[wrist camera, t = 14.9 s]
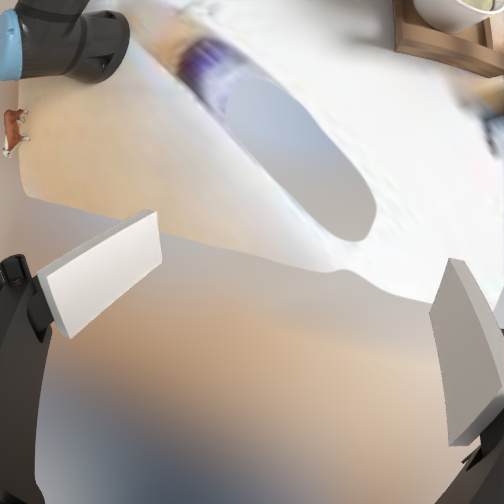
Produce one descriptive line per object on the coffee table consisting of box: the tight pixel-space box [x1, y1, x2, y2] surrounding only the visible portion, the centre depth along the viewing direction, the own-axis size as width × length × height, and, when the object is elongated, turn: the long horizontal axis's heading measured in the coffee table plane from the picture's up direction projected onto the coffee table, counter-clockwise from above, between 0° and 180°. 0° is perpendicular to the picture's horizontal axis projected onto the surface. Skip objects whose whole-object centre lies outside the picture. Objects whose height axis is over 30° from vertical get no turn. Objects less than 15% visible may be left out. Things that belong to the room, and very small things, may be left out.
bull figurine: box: [3, 109, 30, 159], centre depth 50 cm, size 4×13×8 cm, turn 177°
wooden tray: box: [392, 0, 504, 78], centre depth 18 cm, size 14×17×7 cm
